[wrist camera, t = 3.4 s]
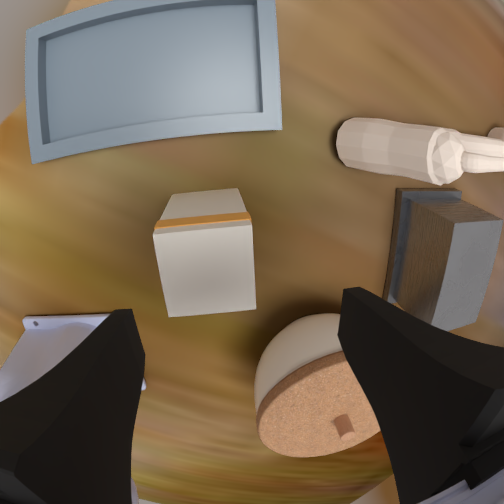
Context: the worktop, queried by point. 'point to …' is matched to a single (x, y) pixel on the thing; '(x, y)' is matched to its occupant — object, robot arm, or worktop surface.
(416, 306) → the block
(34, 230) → the worktop surface
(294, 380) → the lidded jar
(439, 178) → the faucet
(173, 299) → the cartridge
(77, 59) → the tray
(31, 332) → the robot arm
